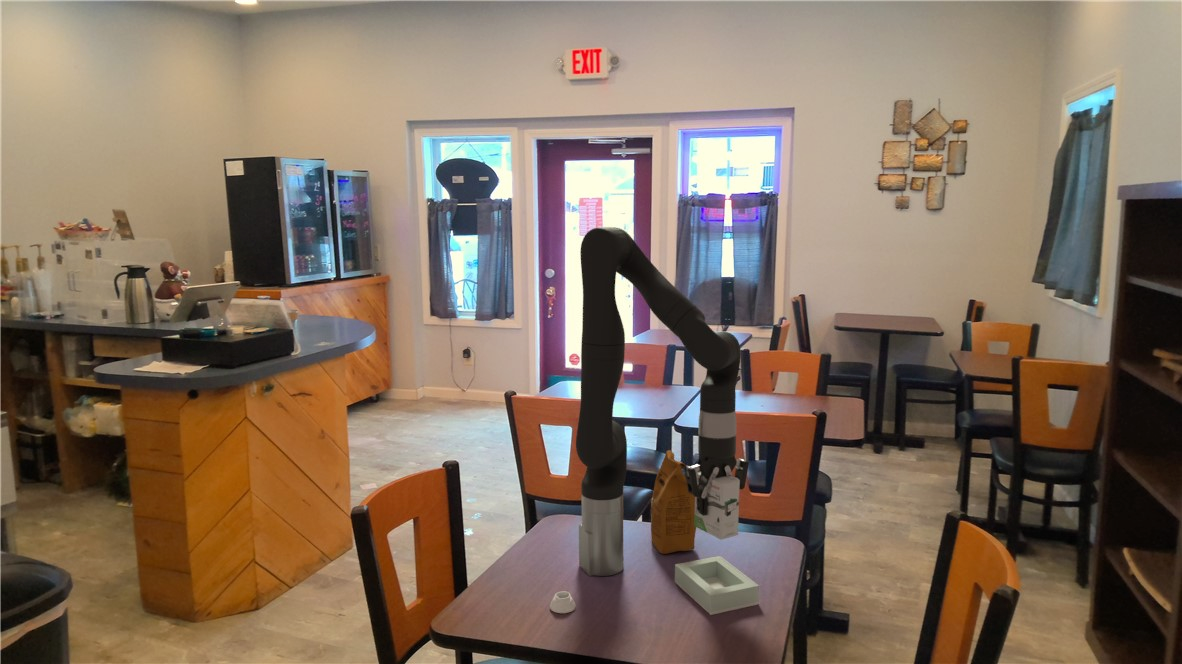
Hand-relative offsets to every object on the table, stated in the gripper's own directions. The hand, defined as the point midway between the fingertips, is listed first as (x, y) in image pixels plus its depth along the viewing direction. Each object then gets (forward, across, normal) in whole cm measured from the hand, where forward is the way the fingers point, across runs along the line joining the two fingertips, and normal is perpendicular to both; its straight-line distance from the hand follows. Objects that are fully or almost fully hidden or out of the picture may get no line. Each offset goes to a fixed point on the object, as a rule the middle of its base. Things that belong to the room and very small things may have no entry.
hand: (716, 511), depth 155 cm
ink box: (+4, 0, 0) cm, 4 cm away
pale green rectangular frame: (+18, 0, 0) cm, 18 cm away
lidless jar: (+18, +31, -6) cm, 37 cm away
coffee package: (+18, -3, -25) cm, 31 cm away
